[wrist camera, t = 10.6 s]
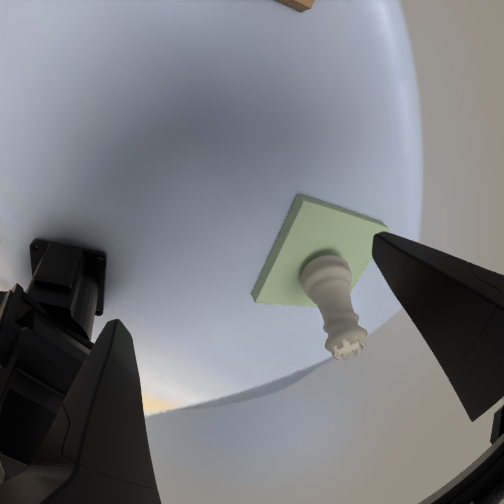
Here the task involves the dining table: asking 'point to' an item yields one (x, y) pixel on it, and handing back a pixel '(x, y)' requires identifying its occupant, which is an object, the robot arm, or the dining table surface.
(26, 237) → the dining table surface
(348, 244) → the sage block
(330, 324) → the rook chess piece
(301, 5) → the walnut block
